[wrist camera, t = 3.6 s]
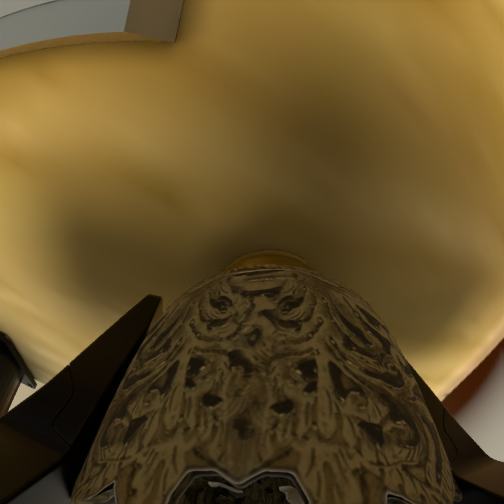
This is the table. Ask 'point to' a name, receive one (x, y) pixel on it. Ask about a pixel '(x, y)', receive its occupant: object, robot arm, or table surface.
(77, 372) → the robot arm
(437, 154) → the table surface
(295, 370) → the cup
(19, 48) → the slate base
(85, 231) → the table surface
